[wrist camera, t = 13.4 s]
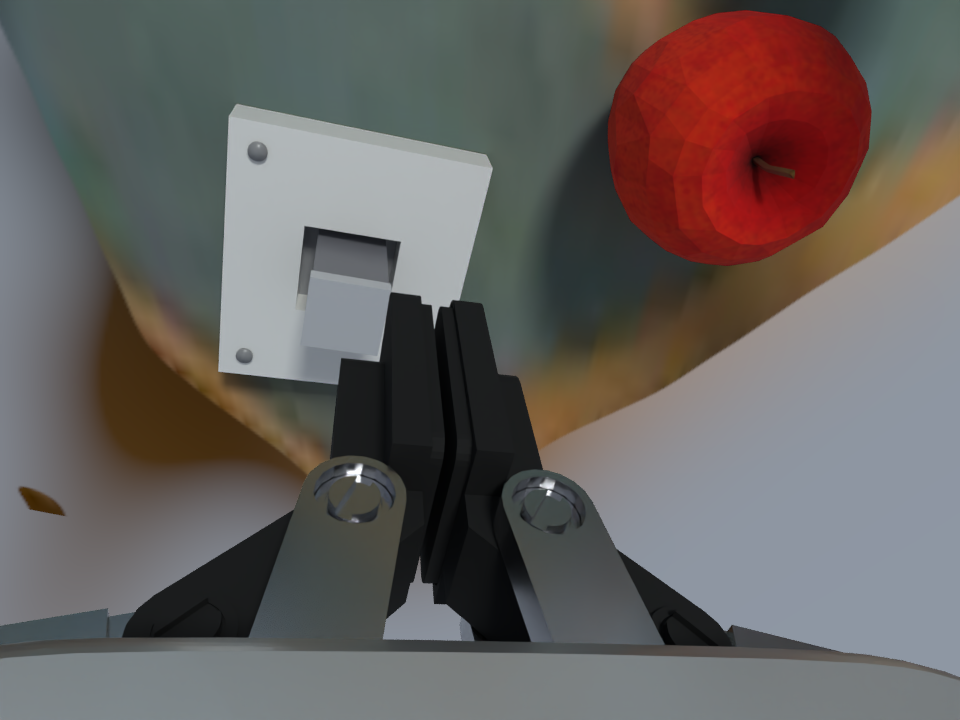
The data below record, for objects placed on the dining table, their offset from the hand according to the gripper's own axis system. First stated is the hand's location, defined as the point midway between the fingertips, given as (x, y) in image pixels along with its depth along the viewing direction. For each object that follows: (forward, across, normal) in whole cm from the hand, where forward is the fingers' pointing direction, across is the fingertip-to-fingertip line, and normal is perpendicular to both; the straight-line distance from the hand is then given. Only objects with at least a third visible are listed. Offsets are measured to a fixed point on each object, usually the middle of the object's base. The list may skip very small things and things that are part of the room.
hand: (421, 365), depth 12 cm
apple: (+29, -16, 0) cm, 33 cm away
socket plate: (+28, +2, +13) cm, 31 cm away
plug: (+28, +2, +13) cm, 31 cm away
